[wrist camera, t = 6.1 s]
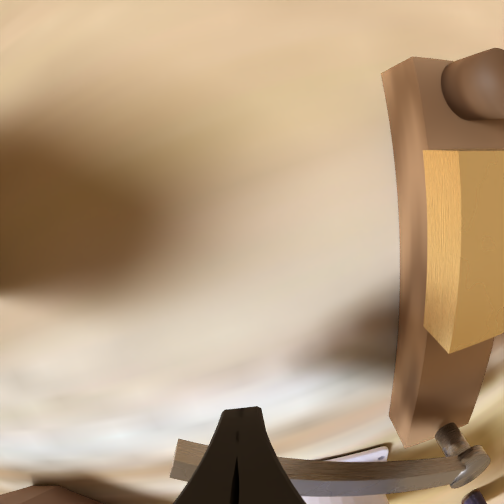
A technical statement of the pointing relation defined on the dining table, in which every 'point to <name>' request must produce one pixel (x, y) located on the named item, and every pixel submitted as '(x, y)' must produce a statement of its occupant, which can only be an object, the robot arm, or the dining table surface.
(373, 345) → the dining table surface
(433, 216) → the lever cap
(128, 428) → the dining table surface
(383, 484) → the lever
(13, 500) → the brown round pot
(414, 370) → the body
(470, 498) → the flask
